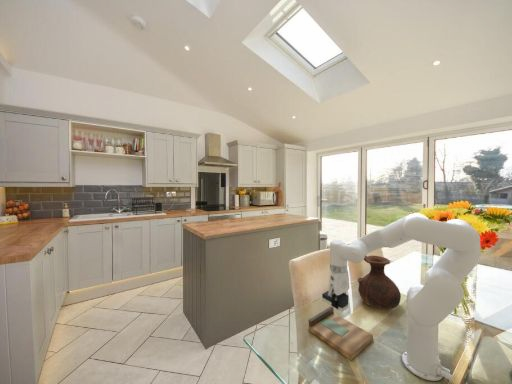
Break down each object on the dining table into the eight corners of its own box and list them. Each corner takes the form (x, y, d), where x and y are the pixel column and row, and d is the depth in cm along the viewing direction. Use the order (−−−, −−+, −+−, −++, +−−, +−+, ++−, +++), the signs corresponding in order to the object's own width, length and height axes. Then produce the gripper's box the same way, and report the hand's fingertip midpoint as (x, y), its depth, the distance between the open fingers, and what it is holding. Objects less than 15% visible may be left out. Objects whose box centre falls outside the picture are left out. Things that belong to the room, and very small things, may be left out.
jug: (375, 290, 139) (375, 245, 137) (409, 309, 119) (410, 256, 117) (349, 298, 131) (349, 250, 129) (381, 319, 111) (381, 263, 109)
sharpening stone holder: (372, 340, 97) (372, 328, 97) (351, 360, 87) (350, 347, 87) (331, 315, 115) (331, 306, 115) (308, 330, 105) (308, 319, 105)
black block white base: (348, 307, 99) (348, 295, 99) (342, 311, 97) (342, 299, 96) (328, 296, 108) (328, 285, 108) (321, 300, 106) (321, 288, 105)
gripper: (334, 275, 92) (334, 316, 93) (356, 265, 101) (355, 302, 103) (320, 269, 98) (320, 307, 99) (341, 260, 108) (341, 295, 109)
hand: (338, 304), depth 101 cm, fingers closed on black block white base, 5 cm apart
